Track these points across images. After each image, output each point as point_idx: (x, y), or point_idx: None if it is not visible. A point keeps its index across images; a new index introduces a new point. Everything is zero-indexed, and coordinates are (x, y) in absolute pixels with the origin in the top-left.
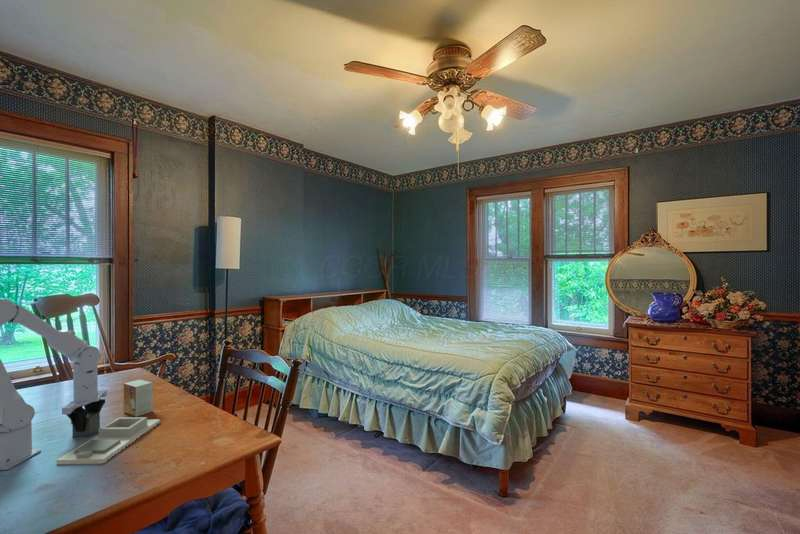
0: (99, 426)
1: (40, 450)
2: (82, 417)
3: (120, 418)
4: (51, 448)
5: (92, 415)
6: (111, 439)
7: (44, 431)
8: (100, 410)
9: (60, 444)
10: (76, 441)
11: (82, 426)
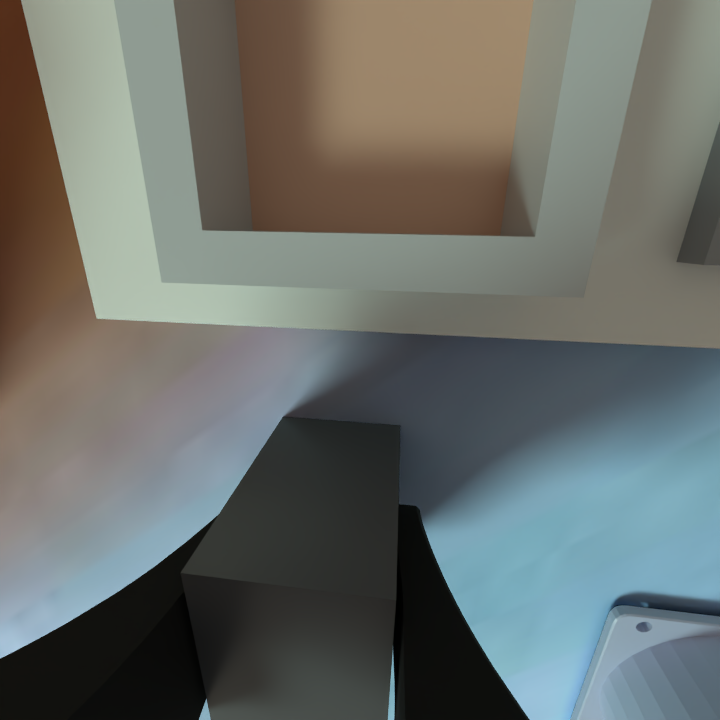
0: (272, 440)
1: (631, 613)
2: (506, 688)
3: (187, 219)
4: (571, 569)
5: (315, 596)
6: (651, 34)
7: None
8: (124, 590)
9: (510, 550)
10: (475, 474)
11: (431, 551)
